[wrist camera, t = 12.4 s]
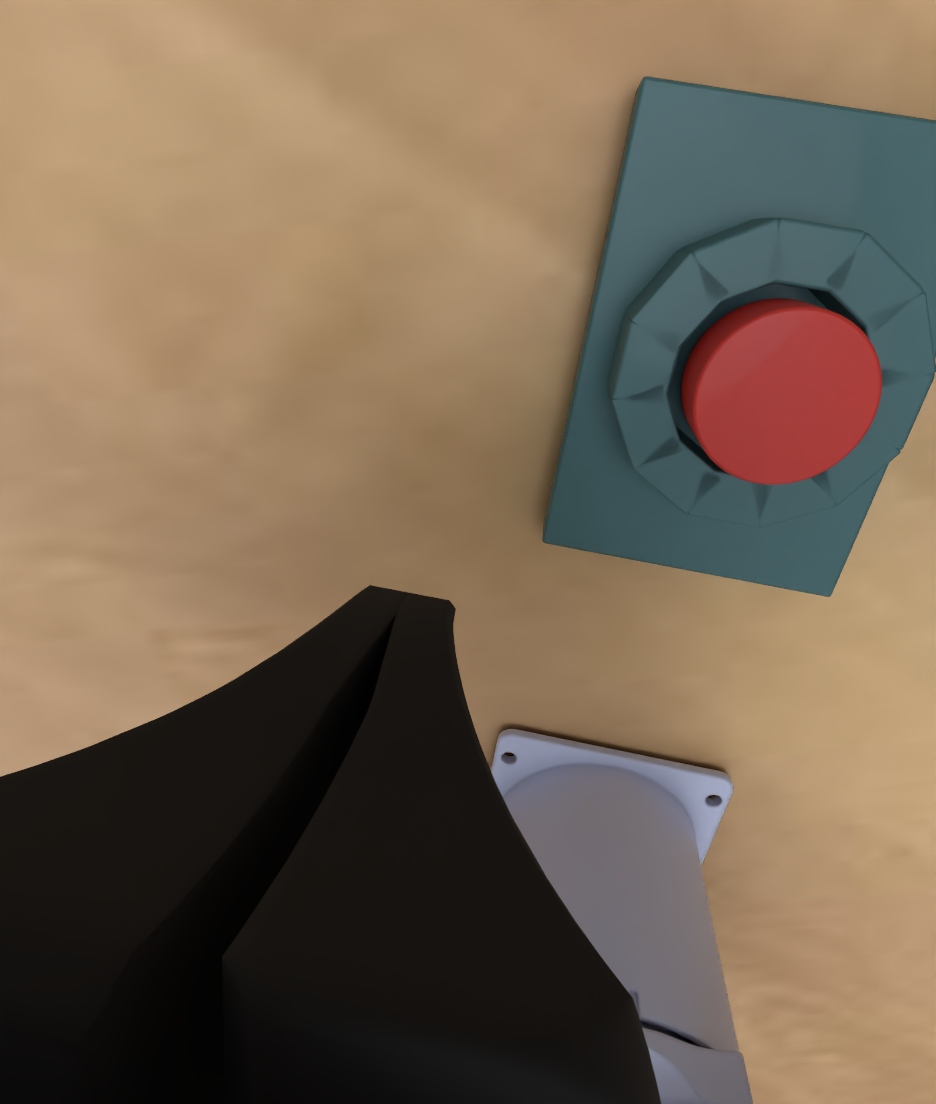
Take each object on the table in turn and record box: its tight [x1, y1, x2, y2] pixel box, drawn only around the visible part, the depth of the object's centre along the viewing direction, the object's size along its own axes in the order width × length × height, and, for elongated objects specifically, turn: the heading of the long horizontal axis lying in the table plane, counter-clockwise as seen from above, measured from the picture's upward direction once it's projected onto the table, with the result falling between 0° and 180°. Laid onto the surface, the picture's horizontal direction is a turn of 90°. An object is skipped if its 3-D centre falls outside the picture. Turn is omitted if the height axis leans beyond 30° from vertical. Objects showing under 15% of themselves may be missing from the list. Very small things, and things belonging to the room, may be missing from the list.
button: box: [681, 298, 882, 485], centre depth 15 cm, size 4×4×2 cm
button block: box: [542, 77, 936, 597], centre depth 17 cm, size 11×8×3 cm
